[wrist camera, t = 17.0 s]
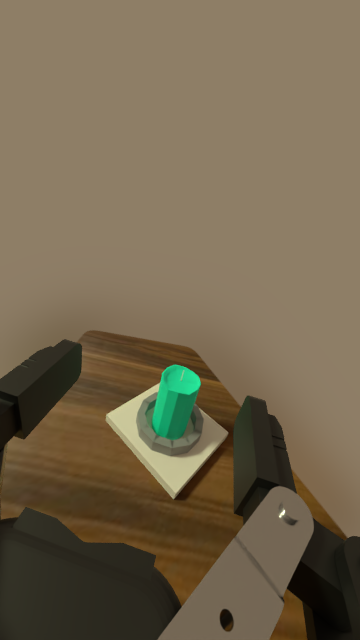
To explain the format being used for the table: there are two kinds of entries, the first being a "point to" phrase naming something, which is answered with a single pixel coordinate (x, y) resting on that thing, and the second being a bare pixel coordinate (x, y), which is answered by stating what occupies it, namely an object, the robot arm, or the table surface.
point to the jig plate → (162, 463)
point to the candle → (175, 401)
